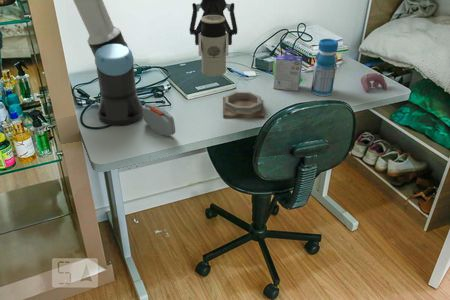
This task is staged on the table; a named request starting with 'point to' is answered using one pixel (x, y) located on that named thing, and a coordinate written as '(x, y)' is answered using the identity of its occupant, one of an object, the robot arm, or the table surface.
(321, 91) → the beverage bottle
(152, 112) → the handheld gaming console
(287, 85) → the ink cartridge box
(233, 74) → the table surface
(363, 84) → the pink arch
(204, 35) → the travel mug
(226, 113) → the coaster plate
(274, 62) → the puzzle toy
